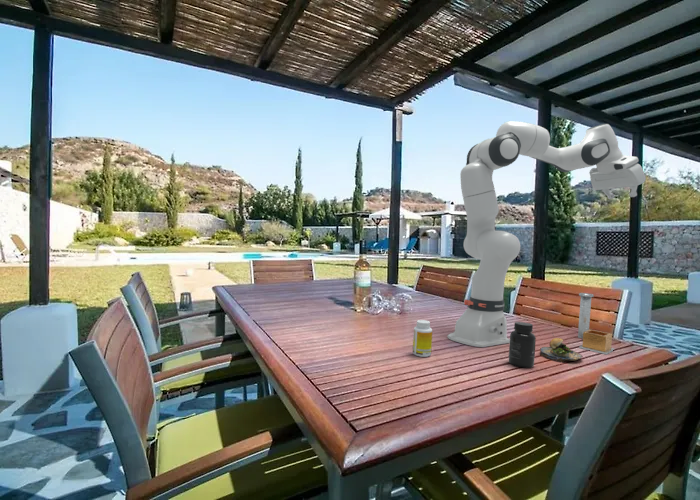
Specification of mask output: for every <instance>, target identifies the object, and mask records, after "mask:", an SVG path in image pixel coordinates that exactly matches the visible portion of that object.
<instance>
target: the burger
mask: <svg viewBox="0 0 700 500" xmlns="http://www.w3.org/2000/svg"><path fill="white" fill-rule="evenodd" d="M552 335H554V332H553V333H552ZM563 342H564V339H563V338H559V337H556V338H555V337H554V338H552V339H551V340H550V341H549V346H543V347H540V349H539V350H540V353H539V354H540V356H541V357H543V358H545V359H549V360H551V361H555V362H558V363H564V362H565V361H570V362H571V361H577V360H580V359H582V358H583V357H584V356H583V355H582V354H581V353H579V352H577V351H574V350H573V349H572V350H571V349H570V348H569V347H568V346H567V344H565V343H563Z"/></svg>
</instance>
